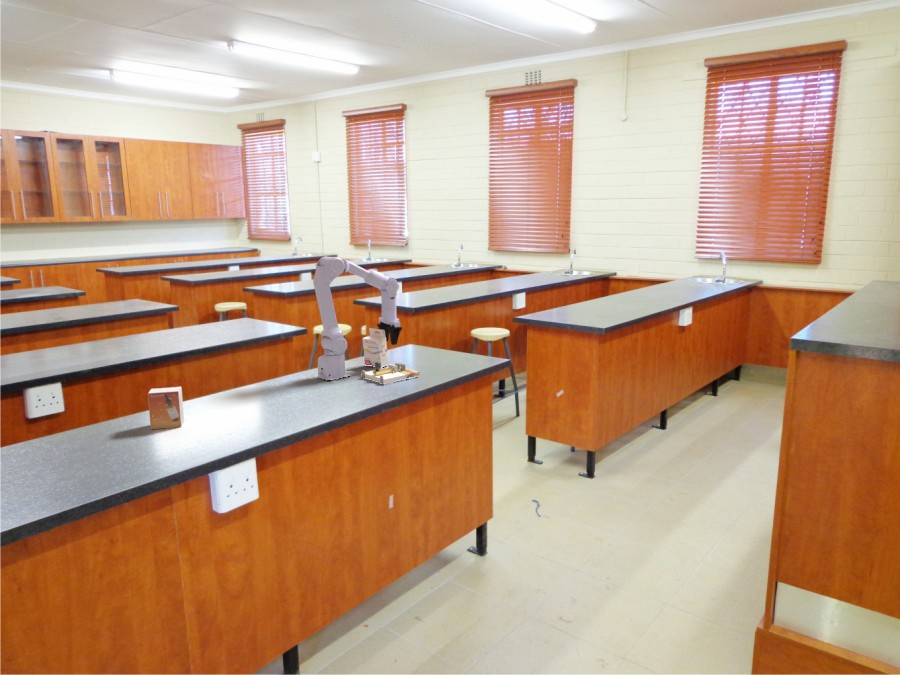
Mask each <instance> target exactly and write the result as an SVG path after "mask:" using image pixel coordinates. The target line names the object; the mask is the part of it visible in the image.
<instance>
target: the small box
mask: <svg viewBox="0 0 900 675" xmlns="http://www.w3.org/2000/svg"><path fill="white" fill-rule="evenodd" d="M183 400H184V399H183V388H182V386H176V387H175V386H171V387H160V388H158V387H157V388H156V387H155V388H151V389H150V390H149V391H148V393H147V403H148V411H149V424H150V430H158V429H159V430H160V429H177V428H182V426H183V424H184V422H185V416H184V402H183Z"/></svg>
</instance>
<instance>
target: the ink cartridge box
mask: <svg viewBox="0 0 900 675" xmlns="http://www.w3.org/2000/svg"><path fill="white" fill-rule="evenodd" d="M368 331H369V335H367V336H365V337H362V349H363V359H364V365H365V364H366V365H372V366H375V362H381V367H382V366H385V365H387V364H388V365H389V356H388V347H387V346H388V345H387V341H386V336H385V330H381V329H379V328H373V327H369V328H368Z"/></svg>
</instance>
